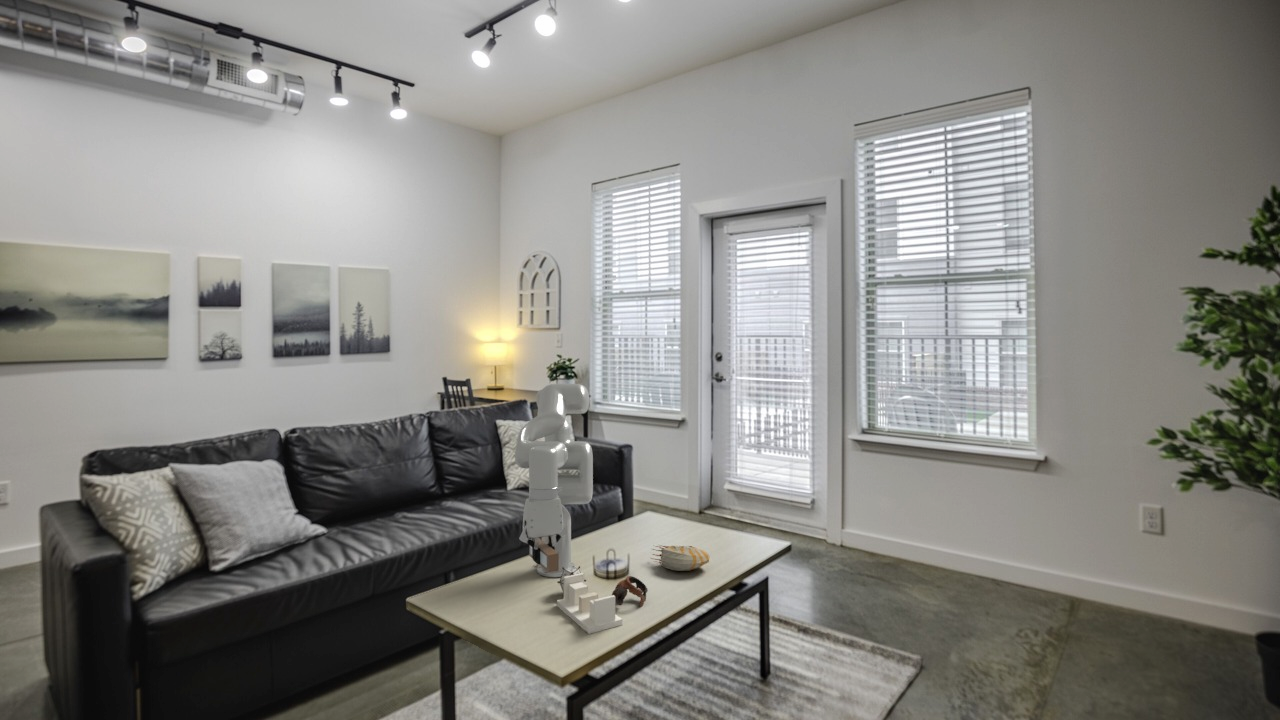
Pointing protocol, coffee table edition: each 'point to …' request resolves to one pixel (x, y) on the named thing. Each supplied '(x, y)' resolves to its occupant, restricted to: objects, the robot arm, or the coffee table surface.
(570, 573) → the wire frame polyhedron
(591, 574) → the coffee table surface
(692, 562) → the nautilus
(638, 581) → the brown curved ringed piece
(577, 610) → the stand
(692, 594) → the coffee table surface
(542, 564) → the tall brown box
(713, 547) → the coffee table surface
